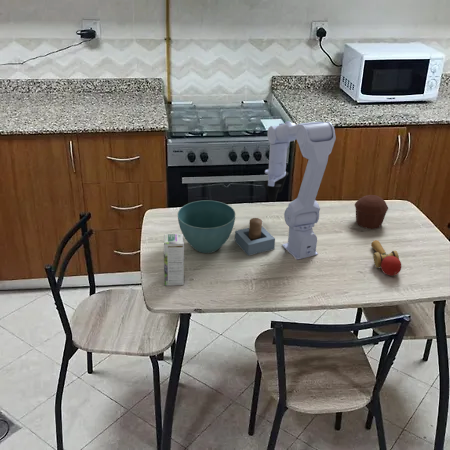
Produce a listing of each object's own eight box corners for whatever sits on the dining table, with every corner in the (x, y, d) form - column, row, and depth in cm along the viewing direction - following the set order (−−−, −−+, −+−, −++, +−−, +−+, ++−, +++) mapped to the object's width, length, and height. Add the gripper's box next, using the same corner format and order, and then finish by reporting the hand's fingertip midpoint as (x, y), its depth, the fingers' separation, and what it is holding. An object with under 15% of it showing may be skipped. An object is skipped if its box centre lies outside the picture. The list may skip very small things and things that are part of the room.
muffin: (367, 212, 211) (370, 187, 206) (391, 224, 203) (396, 198, 198) (345, 221, 204) (349, 196, 199) (370, 234, 197) (374, 208, 192)
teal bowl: (223, 266, 178) (224, 232, 172) (169, 255, 183) (168, 221, 177) (241, 238, 193) (242, 205, 187) (190, 228, 198) (190, 196, 192)
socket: (274, 249, 188) (275, 238, 186) (248, 255, 184) (248, 244, 182) (260, 235, 195) (260, 224, 193) (234, 241, 191) (235, 230, 189)
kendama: (360, 252, 190) (379, 277, 173) (366, 234, 187) (385, 258, 171) (382, 255, 191) (403, 280, 174) (388, 238, 189) (409, 261, 172)
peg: (261, 240, 190) (263, 219, 186) (258, 246, 187) (260, 225, 183) (250, 237, 191) (251, 217, 187) (246, 243, 188) (248, 222, 184)
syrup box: (164, 275, 174) (162, 233, 167) (184, 274, 174) (183, 233, 167) (164, 286, 169) (162, 244, 162) (184, 285, 169) (184, 243, 162)
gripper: (272, 150, 200) (269, 186, 207) (259, 166, 188) (258, 203, 195) (291, 153, 198) (289, 189, 205) (280, 170, 186) (278, 207, 193)
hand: (275, 196), depth 199 cm, fingers open, 7 cm apart
